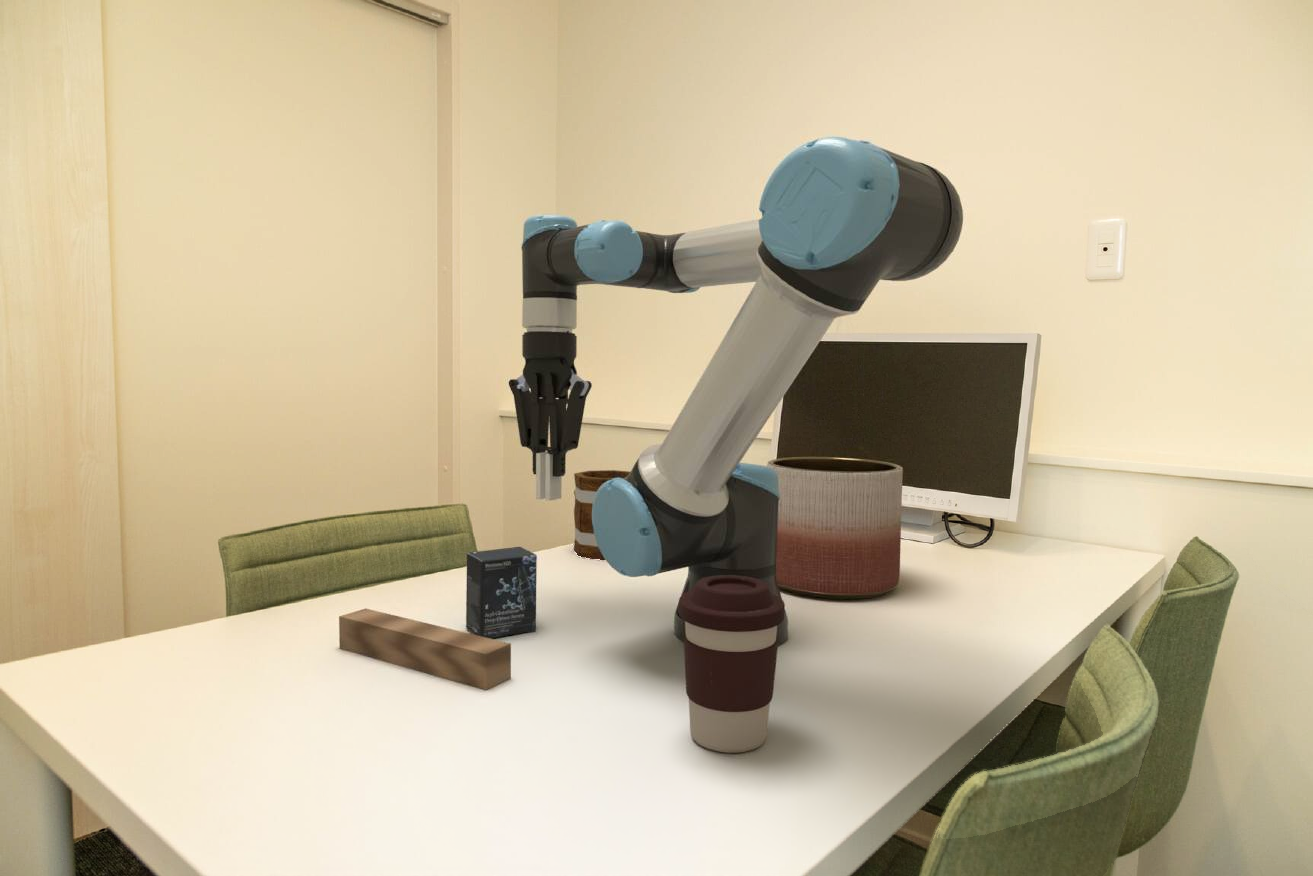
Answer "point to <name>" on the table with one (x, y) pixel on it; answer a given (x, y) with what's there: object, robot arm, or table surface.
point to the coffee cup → (730, 660)
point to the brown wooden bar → (426, 648)
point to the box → (501, 592)
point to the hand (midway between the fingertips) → (548, 498)
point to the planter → (838, 526)
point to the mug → (589, 509)
